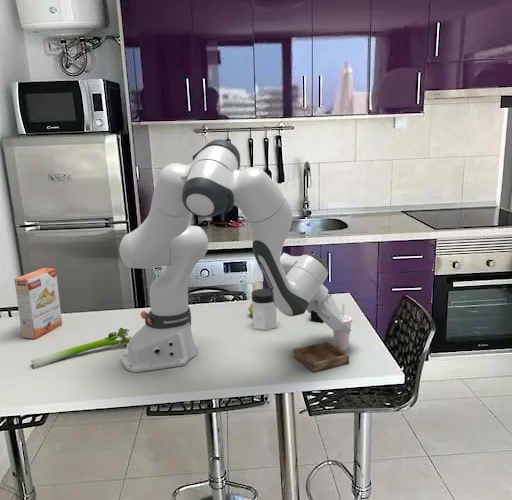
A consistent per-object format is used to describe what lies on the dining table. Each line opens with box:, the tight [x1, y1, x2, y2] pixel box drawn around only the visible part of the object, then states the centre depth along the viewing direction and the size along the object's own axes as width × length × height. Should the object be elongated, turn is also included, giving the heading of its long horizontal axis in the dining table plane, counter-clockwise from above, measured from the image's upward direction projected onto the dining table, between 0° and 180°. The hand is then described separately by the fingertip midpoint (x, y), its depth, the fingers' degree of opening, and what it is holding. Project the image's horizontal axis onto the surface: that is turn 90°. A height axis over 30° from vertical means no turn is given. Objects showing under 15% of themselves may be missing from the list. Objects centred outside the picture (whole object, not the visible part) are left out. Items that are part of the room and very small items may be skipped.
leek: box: [30, 327, 131, 370], centre depth 163 cm, size 6×7×30 cm
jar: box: [251, 288, 277, 331], centre depth 180 cm, size 9×8×12 cm
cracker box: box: [13, 267, 63, 340], centre depth 182 cm, size 14×6×21 cm, turn 161°
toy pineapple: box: [248, 303, 253, 316], centre depth 191 cm, size 7×10×5 cm
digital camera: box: [307, 294, 332, 324], centre depth 187 cm, size 10×5×7 cm, turn 155°
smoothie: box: [332, 303, 353, 352], centre depth 160 cm, size 6×6×14 cm
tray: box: [292, 341, 350, 374], centre depth 154 cm, size 12×12×2 cm
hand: (346, 326), depth 160 cm, fingers closed on smoothie, 6 cm apart
